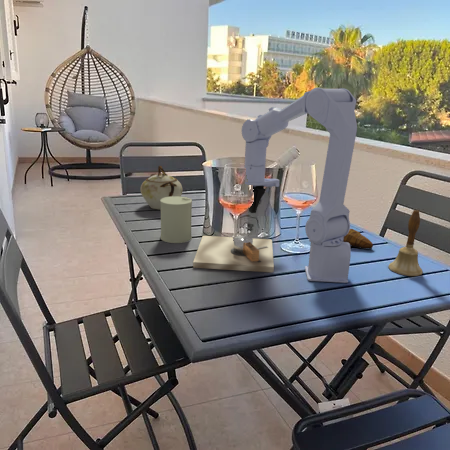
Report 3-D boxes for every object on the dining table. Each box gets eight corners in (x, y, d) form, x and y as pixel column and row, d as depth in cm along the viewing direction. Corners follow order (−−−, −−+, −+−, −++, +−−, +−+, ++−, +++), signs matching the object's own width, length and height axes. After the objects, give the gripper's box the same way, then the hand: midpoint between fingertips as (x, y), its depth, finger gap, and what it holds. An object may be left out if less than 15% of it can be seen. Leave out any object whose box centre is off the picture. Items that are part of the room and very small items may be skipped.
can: (195, 241, 131) (196, 201, 127) (164, 244, 128) (164, 203, 124) (186, 231, 139) (186, 193, 135) (157, 234, 136) (156, 195, 132)
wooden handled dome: (230, 247, 122) (231, 236, 121) (248, 246, 123) (248, 235, 122) (245, 263, 112) (246, 251, 111) (264, 261, 113) (265, 249, 112)
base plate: (271, 244, 131) (271, 238, 130) (273, 272, 112) (273, 266, 111) (202, 240, 132) (202, 234, 131) (193, 267, 113) (193, 261, 112)
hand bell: (424, 268, 118) (435, 209, 113) (419, 279, 111) (431, 217, 106) (391, 260, 122) (401, 203, 117) (385, 271, 115) (394, 211, 110)
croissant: (323, 241, 135) (325, 225, 134) (334, 236, 140) (336, 221, 138) (366, 253, 127) (368, 237, 125) (376, 247, 132) (379, 231, 130)
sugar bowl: (132, 202, 169) (131, 162, 164) (169, 198, 176) (169, 160, 171) (152, 216, 153) (152, 172, 148) (192, 211, 160) (192, 169, 155)
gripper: (273, 161, 130) (270, 206, 134) (225, 162, 125) (223, 209, 130) (283, 165, 123) (280, 213, 128) (233, 167, 119) (231, 216, 123)
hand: (252, 212), depth 128 cm, fingers closed
